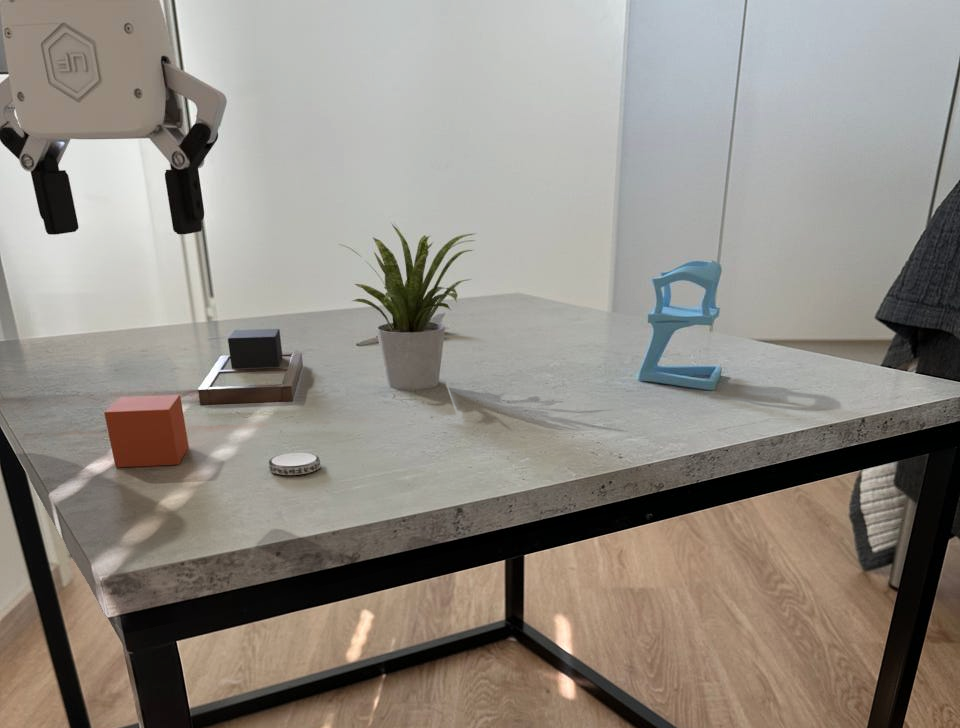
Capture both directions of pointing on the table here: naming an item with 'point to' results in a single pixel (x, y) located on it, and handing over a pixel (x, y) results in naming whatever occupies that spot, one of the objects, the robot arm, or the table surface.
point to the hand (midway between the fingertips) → (125, 232)
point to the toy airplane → (436, 319)
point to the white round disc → (294, 463)
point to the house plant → (411, 315)
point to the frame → (251, 392)
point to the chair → (681, 325)
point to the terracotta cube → (147, 431)
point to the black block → (255, 348)
